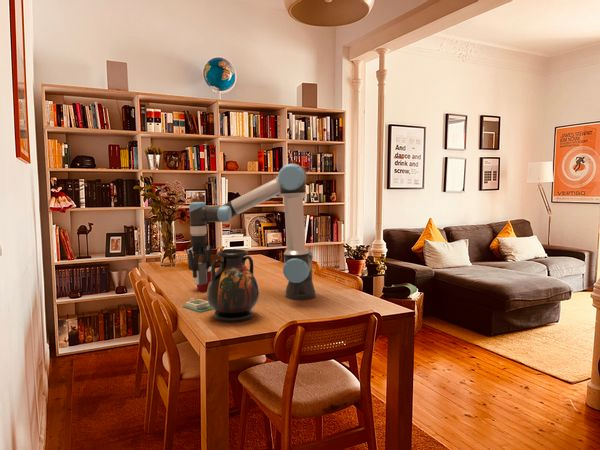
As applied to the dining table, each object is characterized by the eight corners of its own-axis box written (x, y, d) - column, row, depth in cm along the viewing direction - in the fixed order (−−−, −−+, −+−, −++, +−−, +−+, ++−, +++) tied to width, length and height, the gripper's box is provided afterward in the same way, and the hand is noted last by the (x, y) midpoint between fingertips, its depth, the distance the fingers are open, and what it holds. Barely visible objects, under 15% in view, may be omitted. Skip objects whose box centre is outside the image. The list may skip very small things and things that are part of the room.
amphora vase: (221, 329, 172) (220, 257, 169) (199, 315, 189) (197, 250, 187) (269, 319, 185) (268, 252, 182) (243, 307, 202) (243, 246, 199)
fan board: (216, 308, 201) (216, 301, 200) (200, 312, 194) (200, 305, 193) (198, 303, 209) (198, 296, 209) (182, 307, 202) (182, 300, 202)
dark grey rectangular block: (206, 283, 214) (206, 263, 213) (200, 285, 211) (199, 264, 210) (200, 282, 217) (199, 262, 216) (193, 283, 214) (192, 263, 213)
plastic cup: (193, 293, 226) (193, 270, 225) (192, 288, 237) (191, 266, 236) (215, 292, 230) (214, 269, 228) (213, 287, 240) (212, 265, 239)
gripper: (207, 232, 220) (210, 279, 222) (178, 236, 207) (181, 285, 209) (217, 233, 215) (219, 280, 217) (188, 237, 202) (190, 287, 204)
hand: (200, 283), depth 213 cm, fingers closed on dark grey rectangular block, 4 cm apart
